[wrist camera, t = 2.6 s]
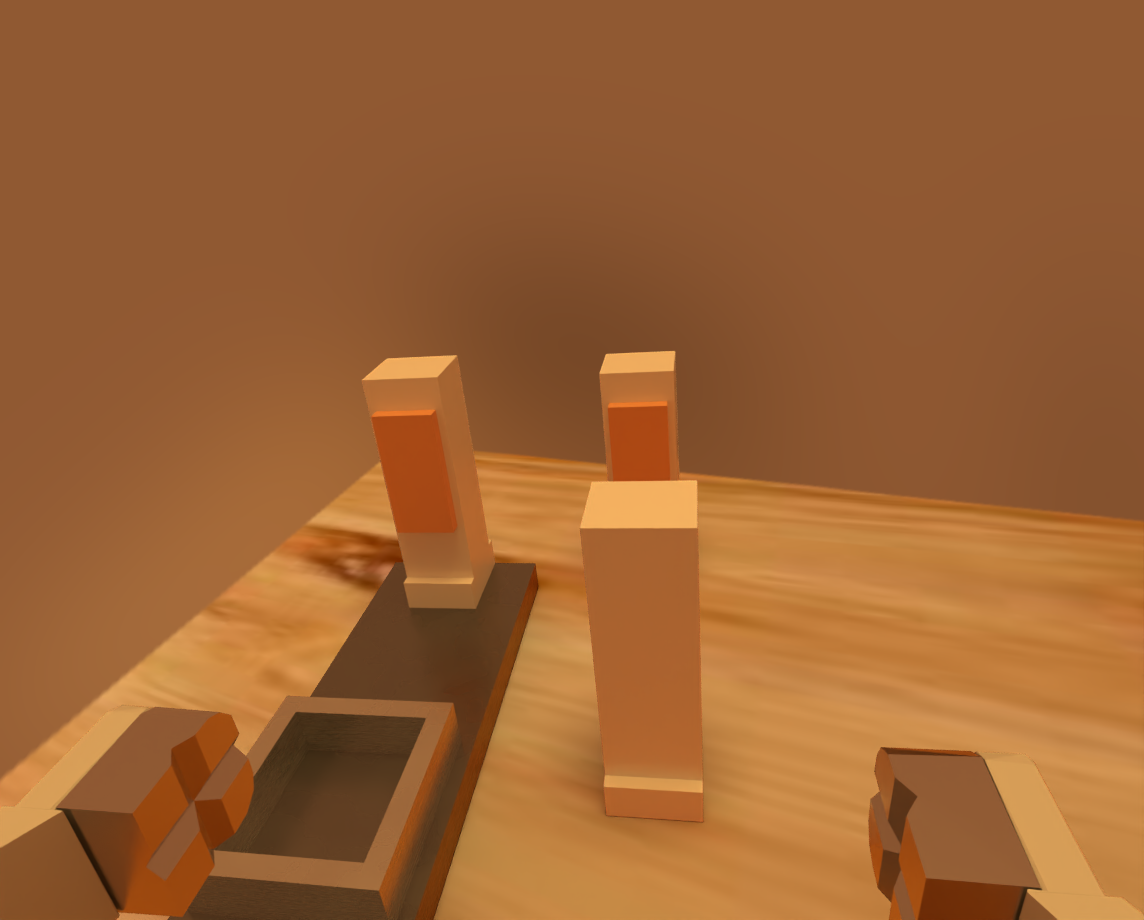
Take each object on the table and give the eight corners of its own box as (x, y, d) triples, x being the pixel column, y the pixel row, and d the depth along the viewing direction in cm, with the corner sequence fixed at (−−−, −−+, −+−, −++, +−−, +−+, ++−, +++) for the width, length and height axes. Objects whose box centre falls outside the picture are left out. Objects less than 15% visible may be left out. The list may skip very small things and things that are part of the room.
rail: (538, 586, 40) (530, 532, 38) (232, 1554, 13) (169, 1501, 12) (401, 584, 41) (388, 532, 40) (-123, 1458, 15) (-221, 1401, 13)
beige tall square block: (702, 733, 30) (696, 472, 25) (703, 821, 26) (697, 537, 21) (616, 729, 30) (594, 473, 25) (606, 815, 27) (577, 537, 21)
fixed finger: (495, 563, 40) (460, 352, 35) (475, 610, 36) (432, 381, 31) (434, 562, 40) (390, 355, 35) (408, 608, 37) (356, 385, 32)
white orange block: (681, 547, 42) (675, 348, 37) (680, 589, 39) (673, 375, 33) (621, 546, 43) (607, 350, 38) (615, 588, 39) (597, 378, 34)
